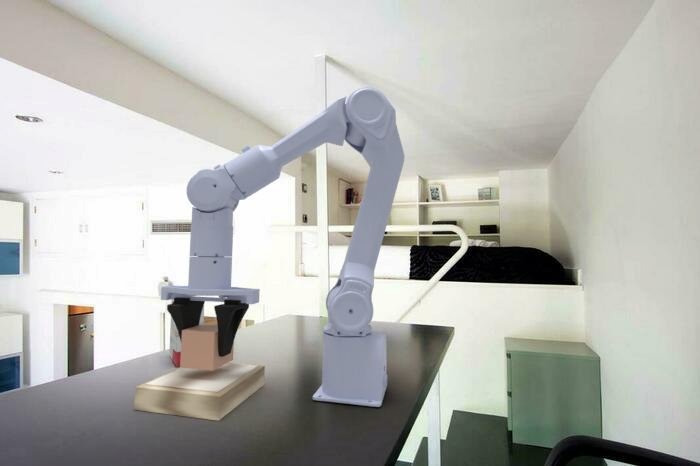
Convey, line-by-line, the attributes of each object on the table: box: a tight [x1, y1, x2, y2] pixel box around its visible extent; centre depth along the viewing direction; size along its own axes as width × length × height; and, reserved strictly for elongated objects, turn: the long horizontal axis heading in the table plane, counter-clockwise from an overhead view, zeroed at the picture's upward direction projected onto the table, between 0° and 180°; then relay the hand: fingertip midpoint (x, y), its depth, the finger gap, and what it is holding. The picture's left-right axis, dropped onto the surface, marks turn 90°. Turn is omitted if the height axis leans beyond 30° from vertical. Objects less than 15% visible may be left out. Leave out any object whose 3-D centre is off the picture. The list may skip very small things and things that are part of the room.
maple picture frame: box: [133, 362, 266, 422], centre depth 49 cm, size 12×12×3 cm
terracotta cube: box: [179, 323, 235, 371], centre depth 49 cm, size 5×5×5 cm
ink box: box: [169, 296, 205, 368], centre depth 65 cm, size 9×5×12 cm, turn 33°
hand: (207, 353), depth 49 cm, fingers closed on terracotta cube, 5 cm apart
